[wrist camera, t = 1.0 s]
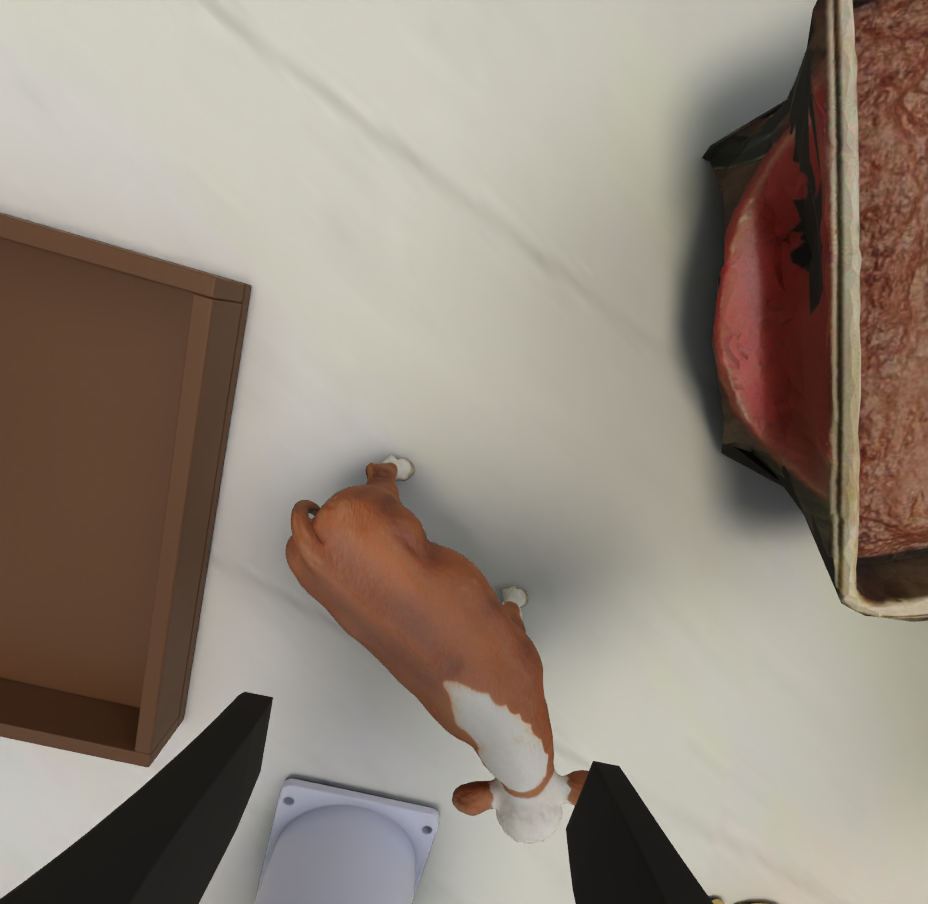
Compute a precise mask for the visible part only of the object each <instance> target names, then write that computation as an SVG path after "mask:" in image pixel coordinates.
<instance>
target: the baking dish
mask: <svg viewBox="0 0 928 904" xmlns="http://www.w3.org/2000/svg"><path fill="white" fill-rule="evenodd" d="M702 158H703V159H705V160H707V161H709V162H710V165H711V167H712V169H713V172H714V174H715V177H716V179H717V181H718V184H719V186H720V188H721V202H722V217H723V232H724V247H725V264H724V266H723V268H722V269H721V271H720V273H719V275H718V294H717V300H716V307H715V313H714V320H713V326H712V333H711V343H712V347H713V351H714V355H715V359H716V365H717V373H718V380H719V388H720V395H721V403H722V410H723V418H724V432H723V441H722V451H721V453H722V454H724V455H726V456H728V457H729V458H731V459H733V460H735V461H737V462H739V463H741V464H742V465H744V466H746V467H748V468H750V469H752V470H754V471H755V472H757V473H759V474H761V475H763V476H765V477H766V478H768V479H770V480H772V481H774V482H776V483H778V484H779V485H781V486H783V487H785V489H786V490H787V492H788V493H789V495H790V496H791V497H792V499H793V500H794V502H795V503H796V504H797V506H798V507H799V509H800V510H801V511H802V513H803V514H804V516H805V518H806V521H807V523H808V526H809V528H810V530H811V533H812V535H813V537H814V540H815V542H816V544H817V547H818V549H819V552H820V554H821V556H822V559H823V561H824V563H825V566H826V568H827V570H828V573H829V575H830V578H831V580H832V582H833V585H834V587H835V589H836V592H837V594H838V597H839V599H840V601H841V603H842V604H844V605H846V606H847V607H849V608H851V609H853V610H855V611H856V612H859V613H861V614H863V615H865V616H874V617H884V618H891V619H898V620H904V621H927V620H928V0H817V2H816V4H815V6H814V9H813V13H812V20H811V26H810V32H809V39H808V45H807V50H806V53H805V56H804V58H803V61H802V64H801V67H800V70H799V72H798V75H797V78H796V81H795V83H794V85H793V87H792V90H791V92H790V94H789V96H788V98H787V100H786V101H784V102H782V103H781V104H779V105H777V106H776V107H774V108H772V109H771V110H769V111H767V112H766V113H764V114H762V115H761V116H759V117H757V118H756V119H754V120H752V121H751V122H749V123H747V124H746V125H744V126H742V127H741V128H739V129H737V130H736V131H734V132H732V133H731V134H729V135H727V136H726V137H724V138H722V139H721V140H719V141H717V142H716V143H714V144H712V145H711V146H710V147H709V149H708V150H707V151H706V153H705V154H704V156H703V157H702Z"/></svg>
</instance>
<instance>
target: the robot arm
mask: <svg viewBox="0 0 928 904" xmlns="http://www.w3.org/2000/svg"><path fill="white" fill-rule="evenodd" d="M272 700H273V697H268V696H263V695H258V694H253V693H248V692H244V693H242V694H240V695H238V696H237V697H236V699H235V700H234V701H233V702H232V703H231V704H230V705H229V706H228V707H227V708H226V709H225V710H224V711H223V712H222V713H221V714H220V715H219V716H218V717H217V718H216V719H215V720H214V721H213V722H212V723H211V724H210V725H209V726H208V727H207V728H206V729H205V730H204V731H203V732H202V733H201V734H200V735H199V736H197V737H196V738H195V739H194V740H193V741H192V742H191V743H190V744H189V745H188V746H187V747H186V748H185V749H184V750H183V751H182V752H180V753H179V754H178V755H177V756H176V757H175V758H174V759H173V760H172V761H171V762H169V763H168V764H167V765H166V766H165V767H164V768H163V769H162V770H161V771H159V772H158V773H157V774H156V775H155V776H154V777H153V778H152V779H151V780H150V781H148V782H147V783H146V784H145V785H144V786H143V787H142V788H140V789H139V790H138V791H137V792H136V793H134V794H133V795H132V796H131V797H130V798H128V799H127V800H126V801H125V802H124V803H123V804H121V805H120V806H119V807H118V808H117V809H115V810H114V811H113V812H112V813H111V814H109V815H108V816H107V817H106V818H105V819H103V820H102V821H101V822H100V823H99V824H97V825H96V826H95V827H94V828H93V829H91V830H90V831H89V832H88V833H86V834H85V835H84V836H83V837H81V838H80V839H79V840H78V841H76V842H75V843H74V844H73V845H71V846H70V847H69V848H68V849H66V850H65V851H64V852H62V853H61V854H60V855H59V856H57V857H56V858H55V859H53V860H52V861H51V862H49V863H48V864H47V865H45V866H44V867H43V868H41V869H40V870H39V871H38V872H36V873H35V874H34V875H32V876H31V877H30V878H28V879H27V880H26V881H24V882H23V883H22V884H20V885H19V886H18V887H16V888H15V889H13V890H12V891H11V892H9V893H8V894H7V895H5V896H4V897H2V898H1V899H0V904H199V902H200V900H201V898H202V896H203V894H204V892H205V890H206V888H207V886H208V884H209V882H210V880H211V879H212V877H213V875H214V873H215V871H216V869H217V867H218V865H219V863H220V861H221V859H222V857H223V855H224V853H225V851H226V849H227V847H228V845H229V843H230V841H231V839H232V837H233V835H234V833H235V831H236V829H237V827H238V825H239V822H240V820H241V817H242V815H243V813H244V810H245V808H246V805H247V803H248V801H249V798H250V796H251V793H252V791H253V788H254V786H255V783H256V781H257V778H258V776H259V773H260V771H261V765H262V759H263V753H264V747H265V741H266V736H267V730H268V724H269V718H270V712H271V706H272ZM439 816H440V814H439V812H438V811H437V810H436V809H434V808H430V807H426V806H421V805H416V804H412V803H407V802H402V801H397V800H393V799H388V798H383V797H379V796H374V795H369V794H365V793H360V792H355V791H350V790H346V789H341V788H336V787H332V786H327V785H322V784H318V783H313V782H308V781H304V780H299V779H292V778H291V779H288V780H286V781H285V782H284V783H283V785H282V788H281V791H280V795H279V799H278V804H277V808H276V812H275V816H274V821H273V825H272V829H271V834H270V838H269V842H268V847H267V851H266V855H265V860H264V864H263V868H262V873H261V877H260V881H259V885H258V890H257V894H256V898H255V903H254V904H413V897H414V894H415V891H416V888H417V885H418V882H419V880H420V877H421V874H422V871H423V868H424V865H425V862H426V860H427V857H428V854H429V851H430V848H431V845H432V842H433V840H434V837H435V834H436V831H437V828H438V825H439ZM566 833H567V843H568V853H569V862H570V870H571V878H572V886H573V892H574V897H575V902H576V904H714V903H713V902H712V901H711V899H710V898H709V897H708V895H707V894H706V892H705V891H704V890H703V888H702V887H701V885H700V884H699V883H698V881H697V880H696V878H695V877H694V876H693V874H692V873H691V871H690V870H689V868H688V867H687V866H686V864H685V863H684V861H683V860H682V858H681V857H680V855H679V854H678V853H677V851H676V850H675V848H674V847H673V845H672V844H671V842H670V841H669V839H668V838H667V836H666V835H665V833H664V832H663V831H662V829H661V828H660V826H659V825H658V823H657V822H656V820H655V819H654V817H653V816H652V814H651V813H650V811H649V810H648V808H647V807H646V805H645V804H644V802H643V801H642V799H641V798H640V796H639V795H638V793H637V792H636V790H635V789H634V787H633V786H632V784H631V783H630V781H629V780H628V778H627V777H626V775H625V774H624V773H623V771H622V770H621V768H620V767H619V766H616V765H611V764H606V763H601V762H596V761H593V763H592V765H591V768H590V770H589V773H588V775H587V778H586V780H585V783H584V785H583V788H582V790H581V793H580V795H579V798H578V800H577V803H576V805H575V808H574V810H573V813H572V815H571V818H570V820H569V823H568V825H567V828H566Z"/></svg>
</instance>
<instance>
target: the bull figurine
mask: <svg viewBox="0 0 928 904" xmlns="http://www.w3.org/2000/svg"><path fill="white" fill-rule="evenodd" d="M365 471H366V475H367V484H366V485H361V486H353V487H348V488H345V489H343V490H341V491H339V492H337V493H335V494H334V495H333V496H332V497H331V498H330V499H328V500H327V501H326V503H325V504H324V505H323V506H322V507H321V508H320V507H319V506H318V505H317V504H315V503H314V502H312V501H309V500H301V501H299V502H297V503H296V504H295V505H294V507H293V509H292V514H291V529H292V533H293V534H292V536H291V537H290V539H289V540H288V542H287V545H286V559H287V562H288V564H289V567H290V569H291V570H292V572H293V573H294V575H295V576H296V578H297V580H298V581H299V583H300V585H301V586H302V587H303V588H304V589H305V590H306V591H307V592H308V593H309V594H310V595H311V596H312V597H314V598H315V599H316V600H317V601H318V602H319V603H320V604H322V605H323V606H324V607H325V608H326V609H327V610H328V612H329V613H330V614H331V615H332V616H333V617H334V618H335V620H336V621H337V622H338V624H339V625H340V626H341V627H342V628H343V629H344V630H345V631H346V632H347V633H348V634H349V635H350V636H352V637H353V638H354V639H356V640H357V641H358V642H359V643H361V644H362V645H363V646H364V647H365V648H366V649H367V650H368V651H369V652H370V653H371V654H372V655H374V656H375V657H376V658H377V659H378V660H379V661H380V662H381V663H382V664H383V665H384V666H385V667H386V668H387V669H388V670H389V671H390V673H391V674H392V675H393V676H394V677H395V678H396V679H397V680H398V681H399V682H400V683H401V684H402V685H403V686H404V687H405V688H406V689H408V690H409V691H410V692H411V693H412V694H413V695H415V696H416V697H417V698H418V700H419V701H420V702H421V703H422V704H423V706H424V707H425V708H426V709H427V711H428V712H429V713H430V714H431V715H432V717H433V718H434V719H435V720H436V721H437V722H438V723H439V724H440V725H441V726H442V727H443V728H444V729H445V730H446V731H448V732H449V733H450V734H452V735H453V736H455V737H456V738H458V739H460V740H462V741H464V742H466V743H467V744H469V745H470V746H472V747H473V748H474V749H475V751H476V752H477V754H478V755H479V757H480V759H481V760H482V763H483V764H484V766H485V767H486V768H487V769H488V770H489V771H490V772H491V773H492V774H493V775H494V776H495V779H494V780H491V781H475V782H470V783H467V784H463V785H460V786H459V787H458V788H456V789H455V791H454V793H453V798H452V802H453V805H454V806H455V807H456V808H457V809H458V810H459V811H461V812H463V813H465V814H467V815H471V816H474V815H477V814H480V813H482V812H484V811H486V810H489V809H496V815H497V819H498V821H499V823H500V825H501V826H502V828H503V830H504V832H505V833H506V834H507V835H509V836H511V837H512V838H513V839H514V840H515V841H517V842H523V843H529V844H530V843H533V842H537V841H545V840H546V839H547V838H548V837H550V836H551V835H552V834H553V833H554V831H555V830H556V828H557V827H558V826H559V823H560V821H561V818H562V808H561V805H562V804H564V803H569V804H572V805H576V803H577V800H578V798H579V795H580V793H581V790H582V788H583V785H584V783H585V780H586V778H587V775H588V773H589V771H584V770H580V771H574V772H572V773H570V774H568V775H565V776H560V775H558V774H557V772H556V771H555V769H554V765H553V759H554V750H553V735H552V730H551V724H550V719H549V713H548V708H547V703H546V700H545V697H544V689H543V666H542V662H541V659H540V656H539V654H538V651H537V649H536V647H535V645H534V644H533V642H532V641H531V639H530V638H529V637H528V636H527V634H526V631H525V627H524V624H523V621H522V610H521V607H523V606H525V605H526V604H527V602H528V594H527V592H526V591H525V590H524V589H522V588H516V587H514V586H512V587H510V588H509V589H503V590H502V596H503V601H504V603H502V604H501V603H500V601H499V600H498V598H497V597H496V595H495V593H494V591H493V589H492V588H491V586H490V585H489V583H488V581H487V580H486V578H485V577H484V575H483V574H482V573H481V572H480V570H479V569H478V568H477V567H476V566H475V565H474V564H473V563H472V562H471V561H470V560H469V559H467V558H466V557H465V556H463V555H461V554H460V553H458V552H456V551H454V550H451V549H449V548H446V547H443V546H441V545H438V544H435V543H433V542H430V541H429V540H427V538H426V533H425V531H424V528H423V526H422V525H421V523H420V521H419V520H418V519H417V517H416V516H415V515H414V514H413V513H412V512H411V511H410V510H408V509H407V508H405V507H404V506H403V505H402V503H401V501H400V499H399V493H398V489H397V486H396V484H395V481H396V480H401V481H406V480H408V479H409V478H410V477H411V476H412V475H413V474H414V467H413V465H412V463H411V462H410V461H408V460H407V459H403V458H402V459H398V460H397V459H396V458H395V457H394V456H393V455H390V456H388V457H387V458H386V459H385V460H384V461H383V462H382V463H379V464H374V463H370V464H368V465H367V467H366V470H365ZM308 513H311V514H313V515H314V516H315V517H314V518H313V519H310V518H309V515H308Z"/></svg>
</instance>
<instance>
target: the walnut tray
mask: <svg viewBox="0 0 928 904" xmlns="http://www.w3.org/2000/svg"><path fill="white" fill-rule="evenodd" d="M250 291H251V286H250V285H248V284H245V283H241V282H238V281H235V280H231V279H228V278H224V277H221V276H217V275H214V274H210V273H207V272H203V271H200V270H197V269H193V268H190V267H186V266H183V265H179V264H176V263H172V262H169V261H165V260H162V259H159V258H155V257H152V256H148V255H145V254H141V253H138V252H134V251H131V250H127V249H124V248H121V247H117V246H114V245H110V244H107V243H103V242H100V241H96V240H93V239H89V238H86V237H83V236H79V235H76V234H72V233H69V232H65V231H62V230H58V229H55V228H51V227H48V226H45V225H41V224H38V223H34V222H31V221H27V220H24V219H20V218H17V217H13V216H10V215H7V214H3V213H0V736H1V737H6V738H10V739H15V740H20V741H25V742H29V743H34V744H39V745H44V746H49V747H53V748H58V749H63V750H68V751H72V752H77V753H82V754H87V755H91V756H96V757H101V758H106V759H110V760H115V761H120V762H125V763H130V764H134V765H139V766H144V767H149V766H150V765H151V764H152V762H153V761H154V759H155V758H156V757H157V755H158V754H159V753H160V751H161V750H162V748H163V747H164V746H165V744H166V743H167V742H168V740H169V739H170V737H171V736H172V735H173V733H174V732H175V731H176V729H177V727H178V726H179V725H180V724H181V722H182V721H183V718H184V712H185V705H186V699H187V693H188V686H189V680H190V673H191V667H192V661H193V654H194V648H195V642H196V635H197V629H198V622H199V616H200V610H201V603H202V597H203V591H204V584H205V578H206V571H207V565H208V559H209V552H210V546H211V540H212V533H213V527H214V520H215V514H216V508H217V501H218V495H219V488H220V482H221V476H222V469H223V463H224V457H225V450H226V444H227V437H228V431H229V425H230V418H231V412H232V406H233V399H234V393H235V386H236V380H237V374H238V367H239V361H240V355H241V348H242V342H243V335H244V329H245V323H246V316H247V310H248V303H249V297H250Z"/></svg>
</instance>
